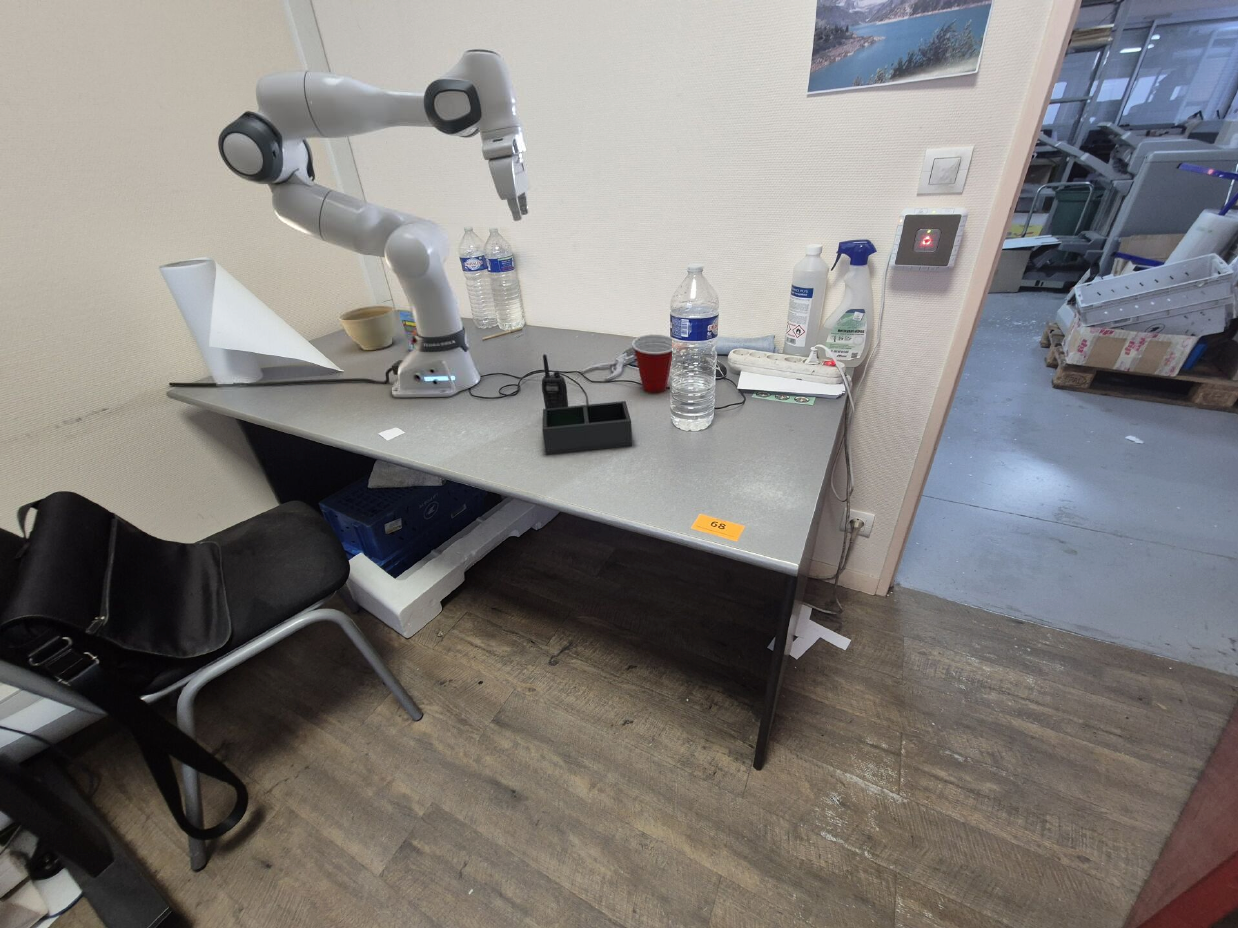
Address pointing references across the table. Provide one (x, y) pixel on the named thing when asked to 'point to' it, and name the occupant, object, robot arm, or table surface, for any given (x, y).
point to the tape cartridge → (408, 326)
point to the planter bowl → (370, 326)
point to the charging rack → (586, 427)
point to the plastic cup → (653, 361)
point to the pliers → (619, 362)
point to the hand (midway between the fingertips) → (521, 217)
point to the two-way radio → (553, 388)
